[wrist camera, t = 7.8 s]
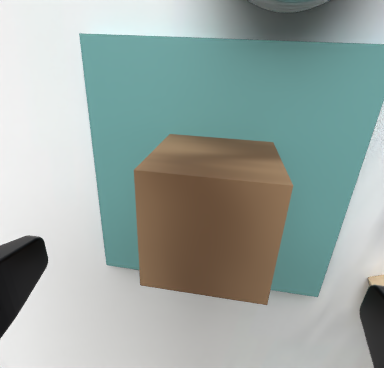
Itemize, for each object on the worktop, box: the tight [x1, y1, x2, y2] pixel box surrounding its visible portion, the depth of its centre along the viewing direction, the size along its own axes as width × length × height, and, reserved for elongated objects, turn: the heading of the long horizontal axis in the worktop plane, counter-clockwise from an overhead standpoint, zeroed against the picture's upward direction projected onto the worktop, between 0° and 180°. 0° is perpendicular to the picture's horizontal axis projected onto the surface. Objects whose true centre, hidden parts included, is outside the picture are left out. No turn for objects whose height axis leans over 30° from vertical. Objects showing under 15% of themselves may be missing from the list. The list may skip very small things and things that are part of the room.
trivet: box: [79, 34, 384, 297], centre depth 13 cm, size 12×12×1 cm
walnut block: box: [134, 134, 293, 305], centre depth 10 cm, size 4×4×4 cm
